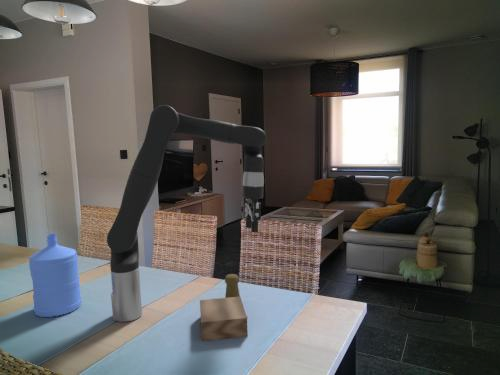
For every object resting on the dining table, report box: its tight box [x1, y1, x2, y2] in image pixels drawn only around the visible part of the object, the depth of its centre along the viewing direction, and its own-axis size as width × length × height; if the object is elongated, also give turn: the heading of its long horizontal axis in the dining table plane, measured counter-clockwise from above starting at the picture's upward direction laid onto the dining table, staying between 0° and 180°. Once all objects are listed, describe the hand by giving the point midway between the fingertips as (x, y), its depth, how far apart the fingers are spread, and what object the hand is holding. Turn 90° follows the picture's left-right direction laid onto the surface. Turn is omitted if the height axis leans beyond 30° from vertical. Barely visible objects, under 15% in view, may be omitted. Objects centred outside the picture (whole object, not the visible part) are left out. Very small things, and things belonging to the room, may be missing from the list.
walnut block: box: [199, 296, 249, 342], centre depth 120 cm, size 14×16×6 cm
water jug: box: [28, 233, 83, 318], centre depth 136 cm, size 16×16×28 cm
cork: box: [224, 273, 241, 298], centre depth 136 cm, size 6×6×11 cm
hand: (251, 229), depth 132 cm, fingers open, 8 cm apart
